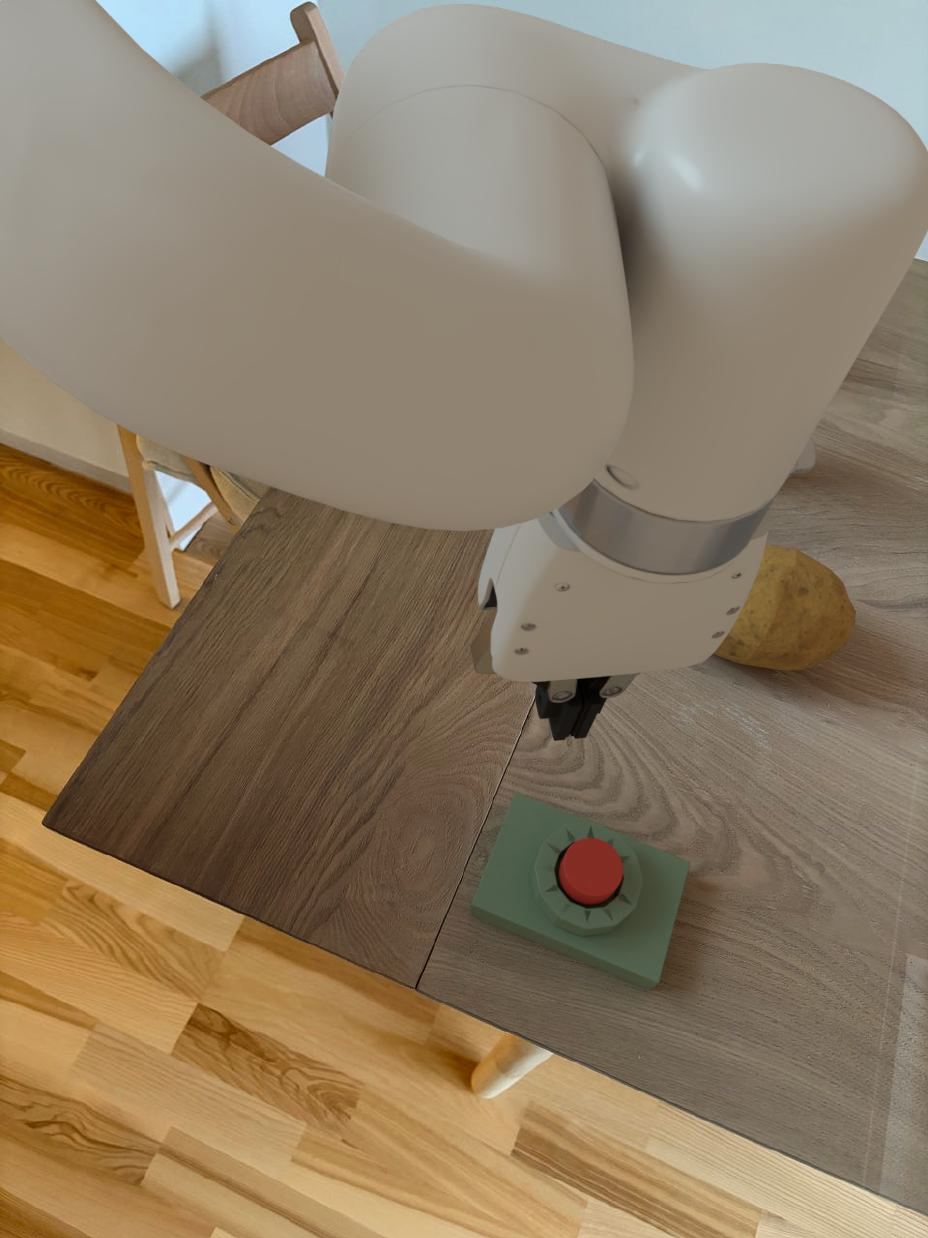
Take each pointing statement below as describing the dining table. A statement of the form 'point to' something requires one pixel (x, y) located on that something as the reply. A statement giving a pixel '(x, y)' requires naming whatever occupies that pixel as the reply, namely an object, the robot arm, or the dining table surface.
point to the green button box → (544, 913)
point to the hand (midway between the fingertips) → (562, 713)
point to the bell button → (590, 871)
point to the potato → (790, 614)
